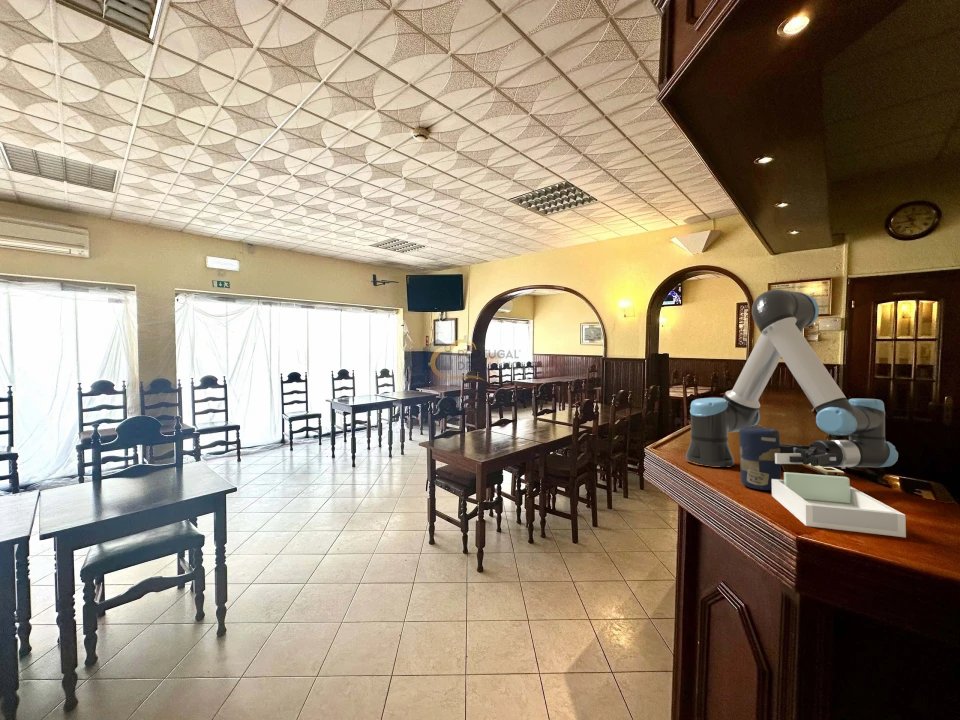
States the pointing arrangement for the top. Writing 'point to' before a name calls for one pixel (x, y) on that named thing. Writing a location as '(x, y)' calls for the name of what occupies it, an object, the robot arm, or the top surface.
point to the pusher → (819, 486)
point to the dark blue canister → (759, 456)
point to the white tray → (843, 512)
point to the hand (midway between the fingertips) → (758, 453)
